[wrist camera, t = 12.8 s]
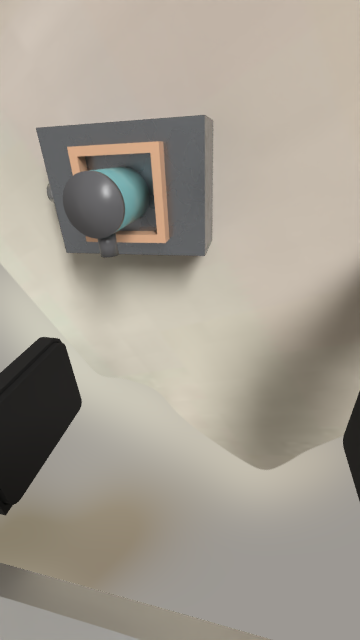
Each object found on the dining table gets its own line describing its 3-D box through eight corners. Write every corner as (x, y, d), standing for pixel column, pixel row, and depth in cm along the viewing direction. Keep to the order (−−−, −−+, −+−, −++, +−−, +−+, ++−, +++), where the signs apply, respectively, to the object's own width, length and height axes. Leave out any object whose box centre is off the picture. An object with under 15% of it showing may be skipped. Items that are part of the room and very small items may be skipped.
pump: (146, 165, 27) (116, 169, 21) (153, 238, 30) (129, 260, 24) (97, 168, 28) (55, 172, 22) (109, 239, 31) (76, 259, 26)
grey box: (213, 120, 29) (202, 113, 23) (211, 240, 35) (202, 260, 29) (53, 131, 33) (6, 128, 27) (77, 238, 39) (43, 256, 33)
